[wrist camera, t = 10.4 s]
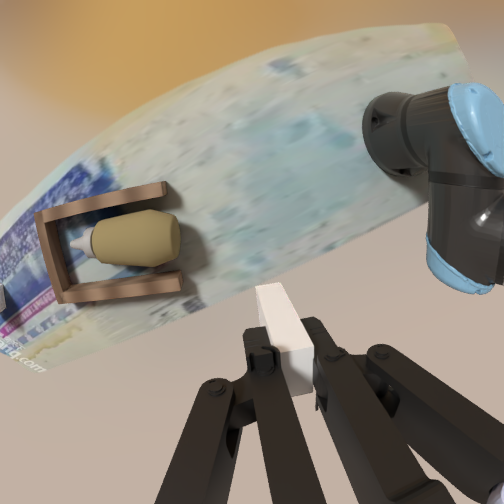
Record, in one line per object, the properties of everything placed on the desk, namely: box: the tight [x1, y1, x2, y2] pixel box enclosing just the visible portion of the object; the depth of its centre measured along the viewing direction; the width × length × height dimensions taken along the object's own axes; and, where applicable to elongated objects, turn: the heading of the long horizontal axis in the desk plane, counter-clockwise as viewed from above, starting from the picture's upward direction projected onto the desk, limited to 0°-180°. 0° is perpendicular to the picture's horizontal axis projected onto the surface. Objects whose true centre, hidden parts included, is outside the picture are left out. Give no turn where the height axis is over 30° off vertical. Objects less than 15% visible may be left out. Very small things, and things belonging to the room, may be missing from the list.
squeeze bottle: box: [70, 209, 181, 267], centre depth 37 cm, size 8×8×18 cm
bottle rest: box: [34, 181, 183, 304], centre depth 38 cm, size 23×16×4 cm
